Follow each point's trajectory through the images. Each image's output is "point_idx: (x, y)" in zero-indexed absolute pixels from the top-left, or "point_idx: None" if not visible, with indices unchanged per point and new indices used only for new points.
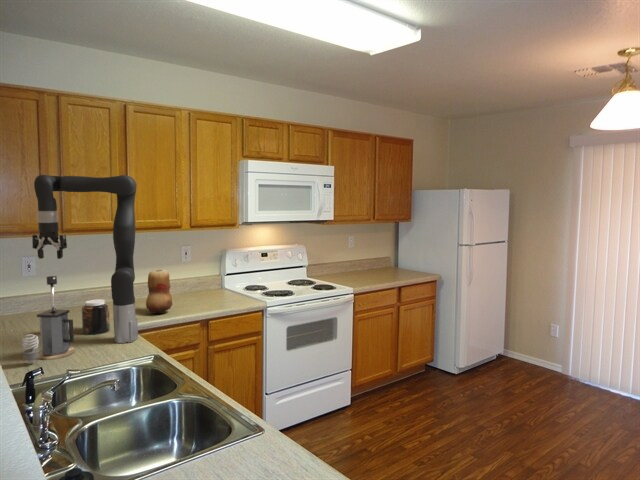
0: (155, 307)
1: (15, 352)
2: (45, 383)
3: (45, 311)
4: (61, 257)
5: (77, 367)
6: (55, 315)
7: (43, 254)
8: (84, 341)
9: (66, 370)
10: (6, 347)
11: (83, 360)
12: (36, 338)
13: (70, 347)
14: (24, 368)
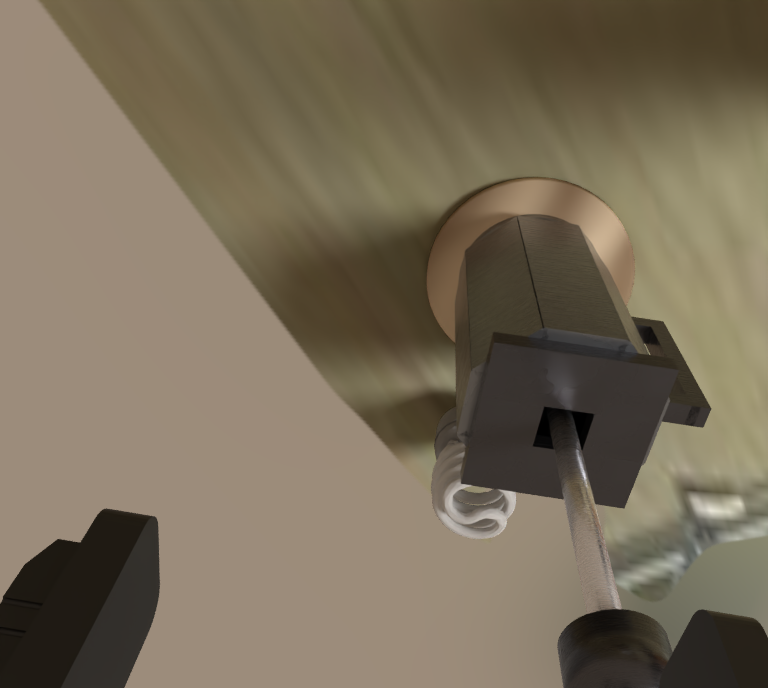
0: None
1: (272, 236)
2: (632, 593)
3: (480, 401)
4: (750, 643)
5: (717, 464)
6: (615, 505)
7: (109, 594)
8: (633, 20)
9: (674, 491)
10: (148, 137)
11: (724, 383)
12: (513, 508)
13: (591, 203)
14: None
